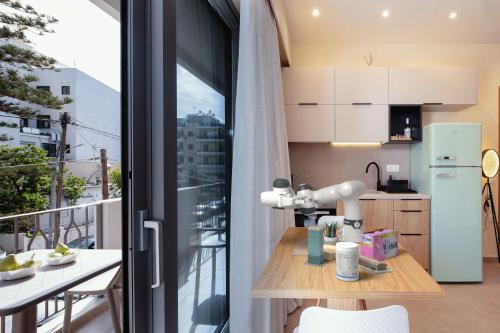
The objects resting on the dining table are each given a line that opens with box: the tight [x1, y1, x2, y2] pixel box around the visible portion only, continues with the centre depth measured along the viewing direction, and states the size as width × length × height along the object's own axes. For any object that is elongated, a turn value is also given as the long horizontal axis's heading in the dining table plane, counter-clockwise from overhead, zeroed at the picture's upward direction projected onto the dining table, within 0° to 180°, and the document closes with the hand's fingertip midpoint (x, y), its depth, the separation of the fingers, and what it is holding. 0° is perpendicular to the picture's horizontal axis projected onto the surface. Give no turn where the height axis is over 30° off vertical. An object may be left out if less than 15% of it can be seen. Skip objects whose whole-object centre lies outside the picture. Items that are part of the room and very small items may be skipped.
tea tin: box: [307, 225, 325, 265], centre depth 159 cm, size 6×5×17 cm
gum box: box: [360, 227, 399, 261], centre depth 171 cm, size 24×8×14 cm, turn 125°
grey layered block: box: [359, 253, 393, 276], centre depth 153 cm, size 18×5×10 cm
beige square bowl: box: [323, 243, 336, 261], centre depth 170 cm, size 15×15×5 cm
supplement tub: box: [335, 241, 360, 282], centre depth 139 cm, size 10×10×15 cm
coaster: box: [303, 260, 329, 268], centre depth 159 cm, size 9×9×1 cm
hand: (308, 201), depth 171 cm, fingers open, 8 cm apart
